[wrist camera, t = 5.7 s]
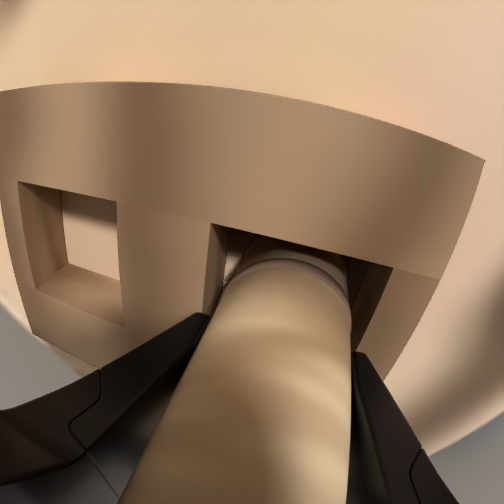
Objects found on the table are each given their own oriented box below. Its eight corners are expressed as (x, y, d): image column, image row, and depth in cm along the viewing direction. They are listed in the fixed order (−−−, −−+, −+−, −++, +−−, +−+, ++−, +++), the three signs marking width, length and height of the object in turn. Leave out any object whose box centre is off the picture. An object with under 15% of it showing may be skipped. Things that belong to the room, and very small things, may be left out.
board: (451, 144, 8) (485, 160, 6) (343, 397, 14) (341, 439, 12) (39, 85, 10) (-5, 92, 8) (58, 308, 16) (32, 333, 14)
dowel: (362, 242, 10) (381, 605, 2) (330, 330, 12) (294, 602, 3) (248, 214, 11) (55, 529, 2) (233, 306, 13) (118, 557, 4)
